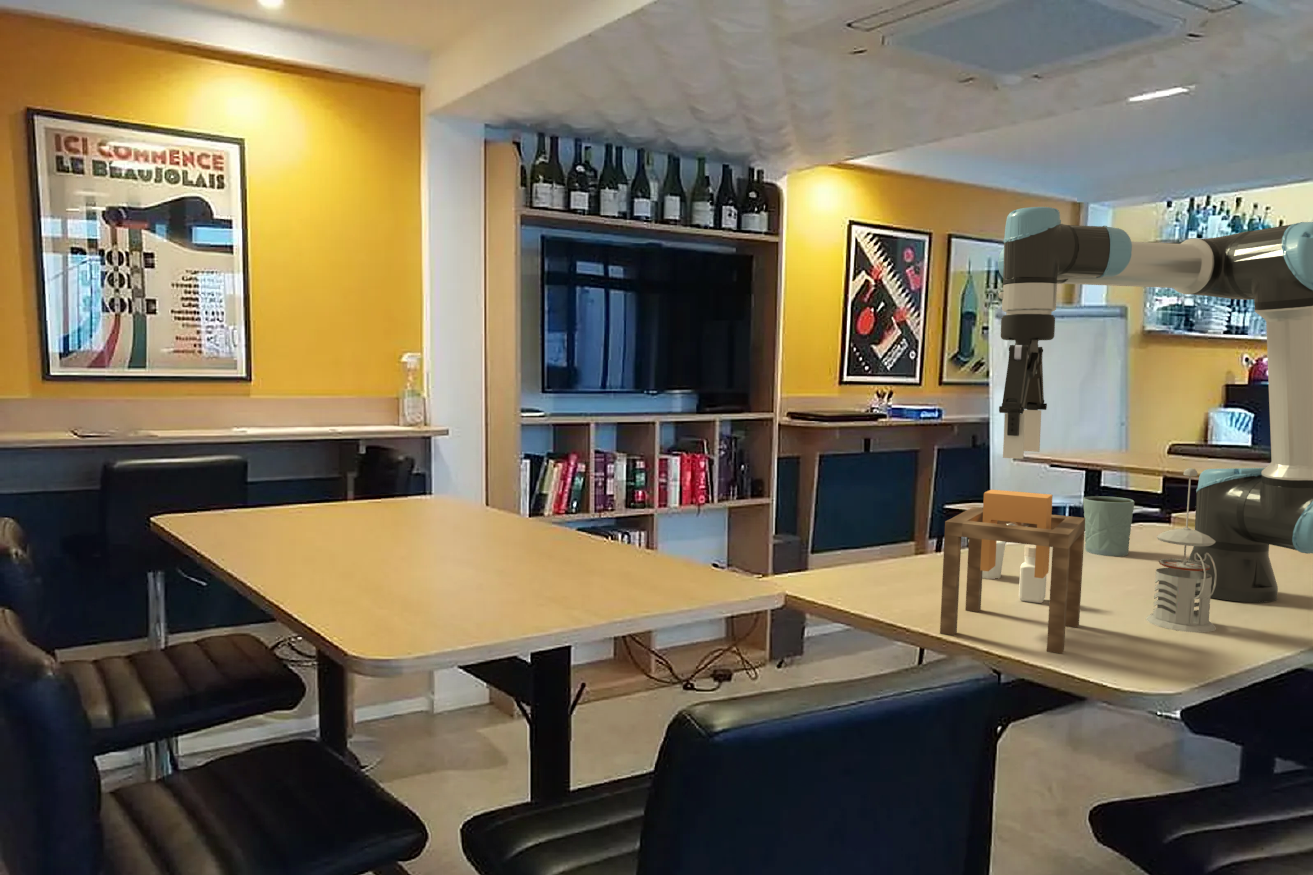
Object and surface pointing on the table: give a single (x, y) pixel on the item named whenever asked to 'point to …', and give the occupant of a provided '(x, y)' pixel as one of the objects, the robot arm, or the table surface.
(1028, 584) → the white pill bottle
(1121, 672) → the table surface
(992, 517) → the orange arch block
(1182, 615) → the french press
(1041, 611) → the table surface
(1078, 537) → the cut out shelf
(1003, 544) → the white cup
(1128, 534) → the green plant pot
